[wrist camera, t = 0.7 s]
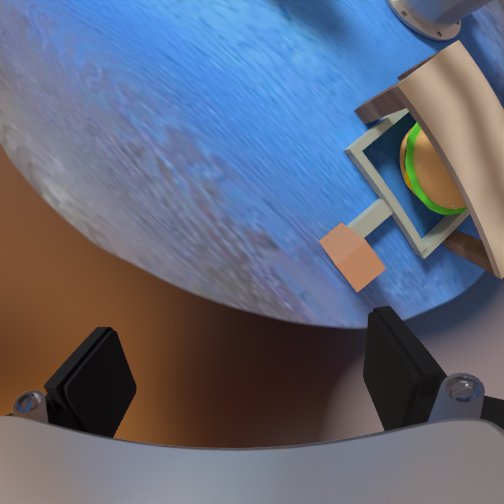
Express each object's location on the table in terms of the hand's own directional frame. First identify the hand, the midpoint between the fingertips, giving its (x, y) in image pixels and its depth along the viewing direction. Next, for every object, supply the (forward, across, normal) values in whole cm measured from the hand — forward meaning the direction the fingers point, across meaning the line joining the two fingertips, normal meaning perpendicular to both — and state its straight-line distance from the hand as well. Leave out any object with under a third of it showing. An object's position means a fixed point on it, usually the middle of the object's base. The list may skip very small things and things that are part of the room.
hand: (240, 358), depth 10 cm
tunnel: (+25, -23, -7) cm, 34 cm away
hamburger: (+25, -22, -6) cm, 34 cm away
